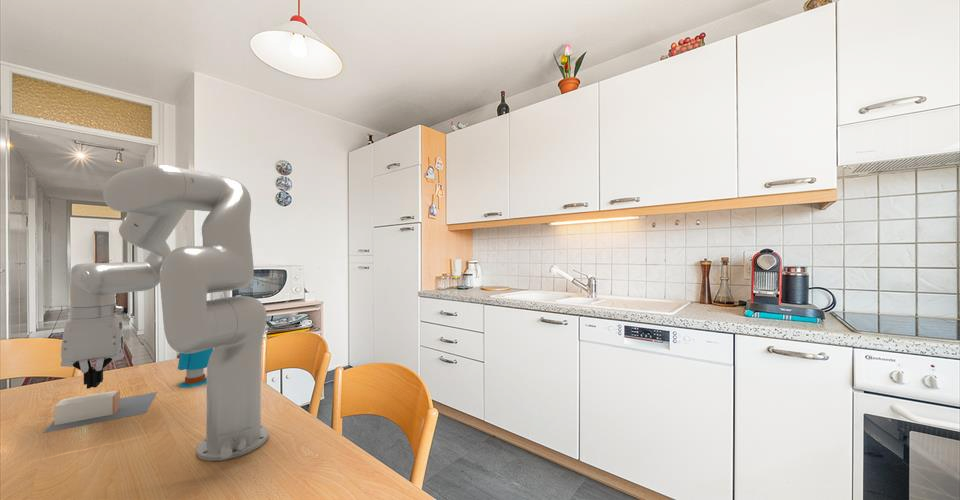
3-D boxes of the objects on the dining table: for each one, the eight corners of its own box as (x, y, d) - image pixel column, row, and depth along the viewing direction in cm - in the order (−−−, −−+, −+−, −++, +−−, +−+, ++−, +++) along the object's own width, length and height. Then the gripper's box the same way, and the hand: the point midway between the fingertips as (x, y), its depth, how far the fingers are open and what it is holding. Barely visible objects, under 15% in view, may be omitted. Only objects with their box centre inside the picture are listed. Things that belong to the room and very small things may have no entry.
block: (114, 396, 88) (54, 406, 82) (114, 414, 88) (54, 425, 82) (119, 390, 92) (62, 399, 86) (119, 407, 92) (62, 417, 86)
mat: (145, 414, 88) (145, 413, 88) (42, 434, 79) (42, 433, 79) (157, 393, 102) (157, 391, 102) (70, 408, 92) (70, 406, 92)
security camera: (209, 317, 106) (169, 318, 103) (209, 387, 106) (169, 390, 103) (220, 312, 114) (183, 313, 111) (220, 377, 114) (183, 380, 111)
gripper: (138, 307, 95) (138, 375, 95) (54, 313, 86) (54, 388, 86) (131, 312, 89) (131, 384, 89) (40, 318, 80) (40, 398, 80)
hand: (93, 386), depth 87 cm, fingers closed
